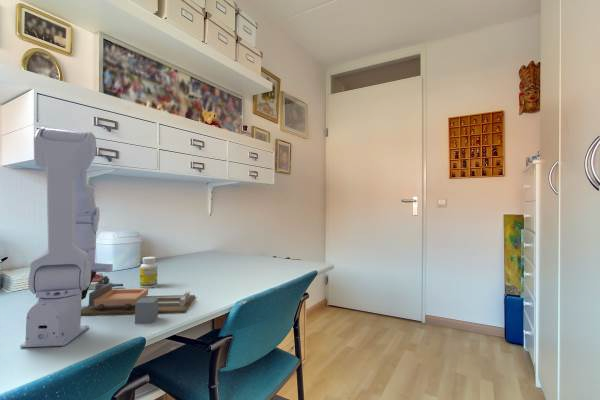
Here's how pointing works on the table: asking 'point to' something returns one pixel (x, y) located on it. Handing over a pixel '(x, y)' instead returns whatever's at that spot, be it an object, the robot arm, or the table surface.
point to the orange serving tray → (115, 297)
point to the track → (164, 302)
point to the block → (146, 310)
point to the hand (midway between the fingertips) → (81, 298)
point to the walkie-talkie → (100, 282)
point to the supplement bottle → (148, 273)
